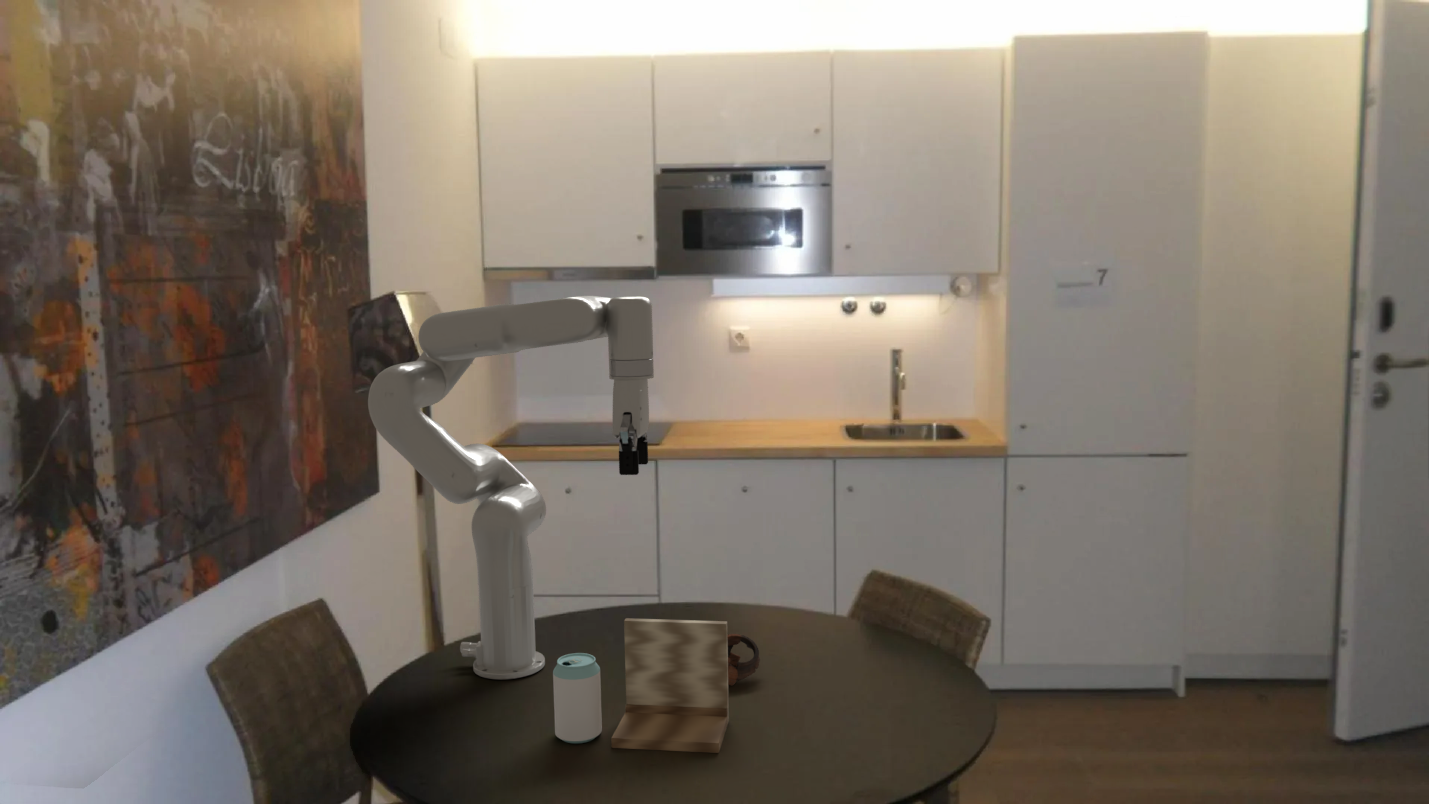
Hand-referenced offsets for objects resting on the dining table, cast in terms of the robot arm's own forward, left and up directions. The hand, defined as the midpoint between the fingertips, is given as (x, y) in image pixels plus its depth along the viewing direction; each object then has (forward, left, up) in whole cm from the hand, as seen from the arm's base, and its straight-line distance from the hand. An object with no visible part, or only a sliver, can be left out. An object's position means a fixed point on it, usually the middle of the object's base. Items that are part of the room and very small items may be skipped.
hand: (634, 469), depth 179 cm
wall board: (+10, -23, -36) cm, 44 cm away
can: (-4, -25, -37) cm, 45 cm away
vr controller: (+15, +1, -37) cm, 40 cm away
